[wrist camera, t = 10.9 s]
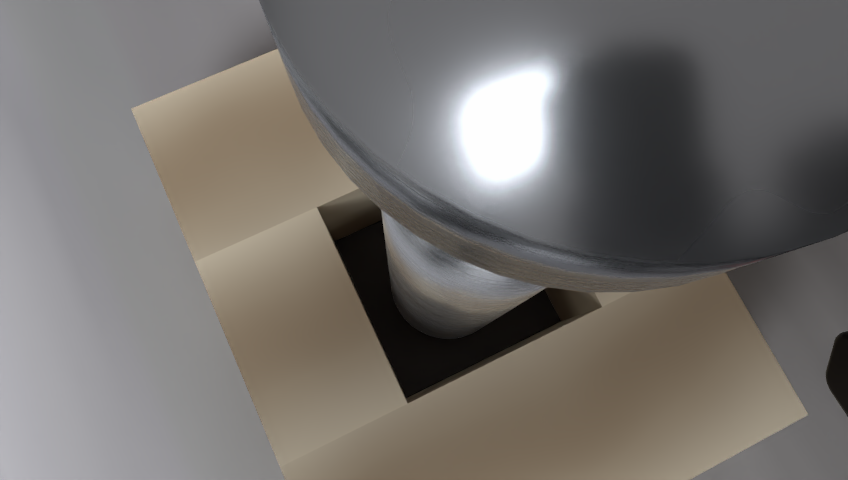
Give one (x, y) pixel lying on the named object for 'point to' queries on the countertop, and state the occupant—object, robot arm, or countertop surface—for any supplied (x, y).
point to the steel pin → (575, 138)
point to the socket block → (466, 390)
